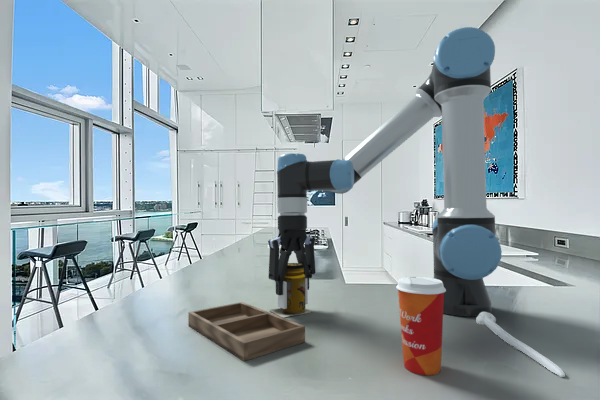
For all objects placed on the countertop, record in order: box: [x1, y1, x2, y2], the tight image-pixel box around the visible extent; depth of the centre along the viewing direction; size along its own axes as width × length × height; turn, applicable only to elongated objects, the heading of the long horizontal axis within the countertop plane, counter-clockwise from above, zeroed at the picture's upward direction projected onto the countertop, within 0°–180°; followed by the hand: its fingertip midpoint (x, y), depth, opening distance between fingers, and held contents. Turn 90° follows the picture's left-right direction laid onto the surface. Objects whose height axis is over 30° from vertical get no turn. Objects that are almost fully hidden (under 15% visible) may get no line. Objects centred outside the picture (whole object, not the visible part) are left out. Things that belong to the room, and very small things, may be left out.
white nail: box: [475, 312, 566, 378], centre depth 67 cm, size 28×4×3 cm, turn 177°
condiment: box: [269, 262, 312, 318], centre depth 89 cm, size 7×8×12 cm
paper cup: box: [395, 276, 446, 376], centre depth 57 cm, size 8×8×14 cm
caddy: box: [187, 301, 306, 362], centre depth 73 cm, size 24×14×3 cm, turn 39°
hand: (293, 305), depth 90 cm, fingers closed on condiment, 6 cm apart
